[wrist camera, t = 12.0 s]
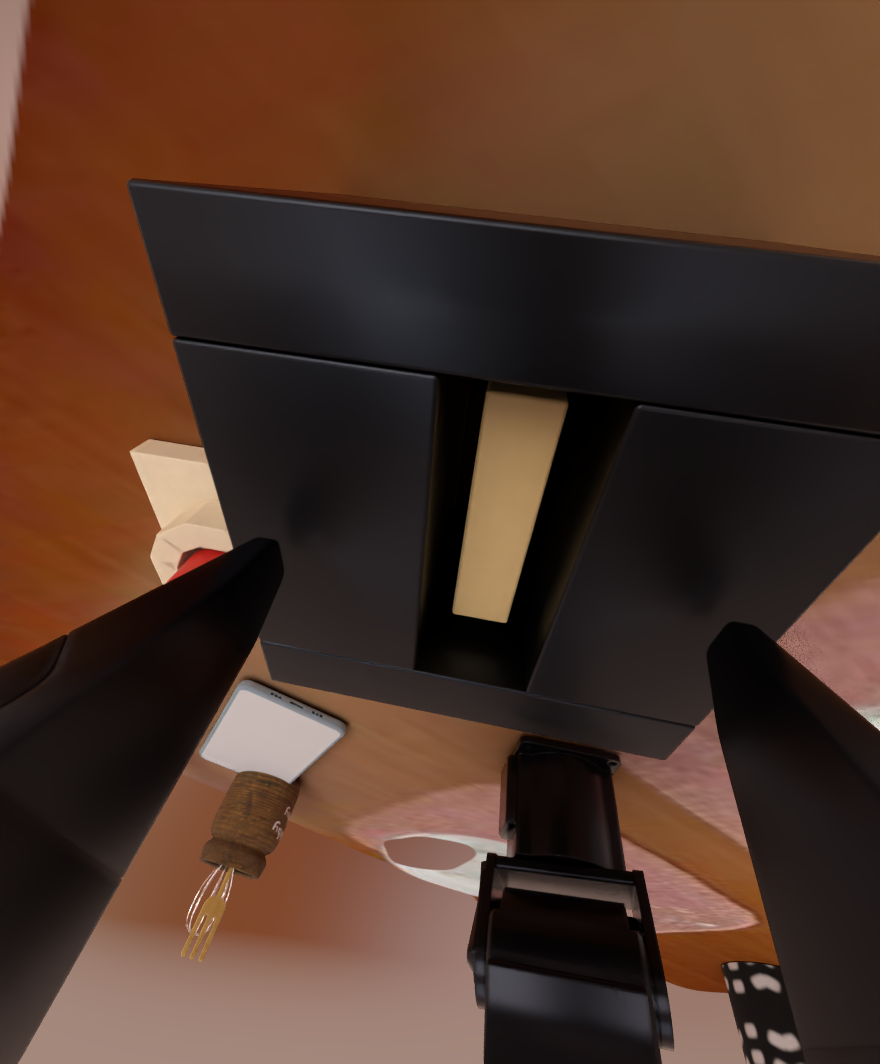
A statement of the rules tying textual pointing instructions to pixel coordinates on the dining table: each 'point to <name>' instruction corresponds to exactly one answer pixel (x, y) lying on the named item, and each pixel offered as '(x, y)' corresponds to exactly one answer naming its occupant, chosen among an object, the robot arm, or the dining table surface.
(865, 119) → the dining table surface
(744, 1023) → the spotted tube
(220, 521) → the control block
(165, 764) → the robot arm
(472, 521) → the toast
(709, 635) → the toaster
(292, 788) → the utensil holder
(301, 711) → the smartphone
